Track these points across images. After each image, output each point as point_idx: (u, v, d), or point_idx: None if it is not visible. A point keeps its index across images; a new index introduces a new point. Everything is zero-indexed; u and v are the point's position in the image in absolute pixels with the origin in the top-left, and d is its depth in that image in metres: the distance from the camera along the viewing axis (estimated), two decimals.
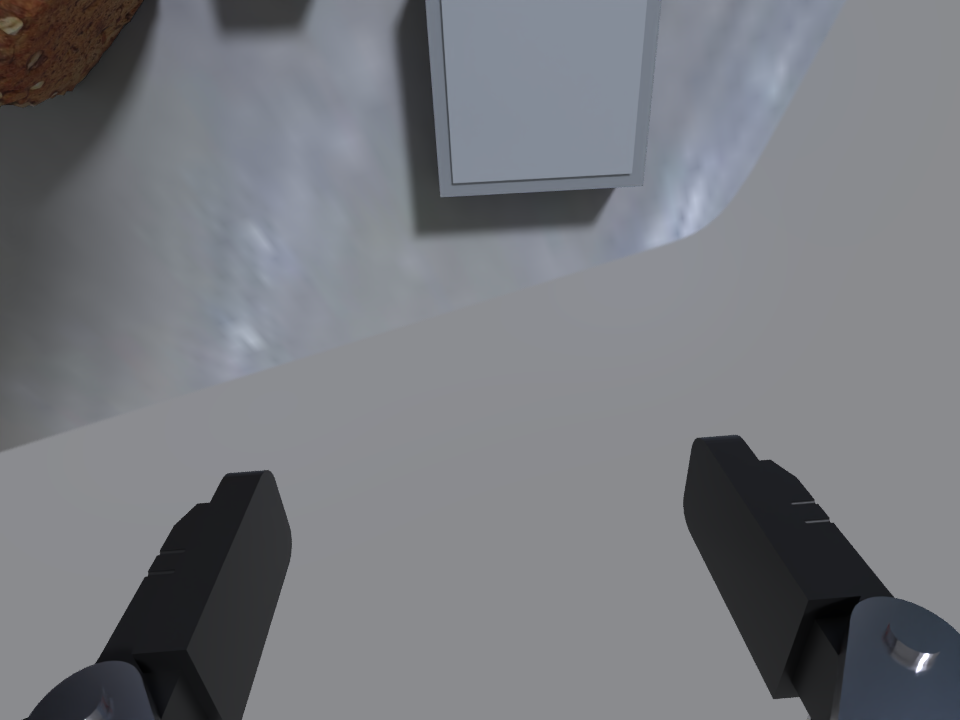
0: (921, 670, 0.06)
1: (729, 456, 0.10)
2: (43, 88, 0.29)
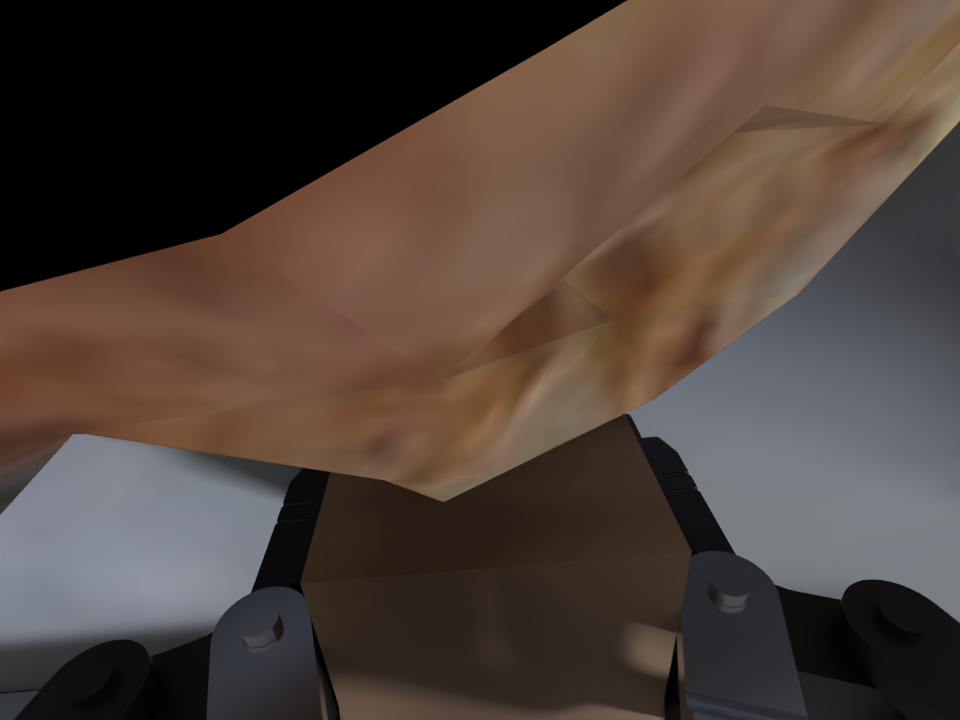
0: (728, 611, 0.07)
1: None
2: None
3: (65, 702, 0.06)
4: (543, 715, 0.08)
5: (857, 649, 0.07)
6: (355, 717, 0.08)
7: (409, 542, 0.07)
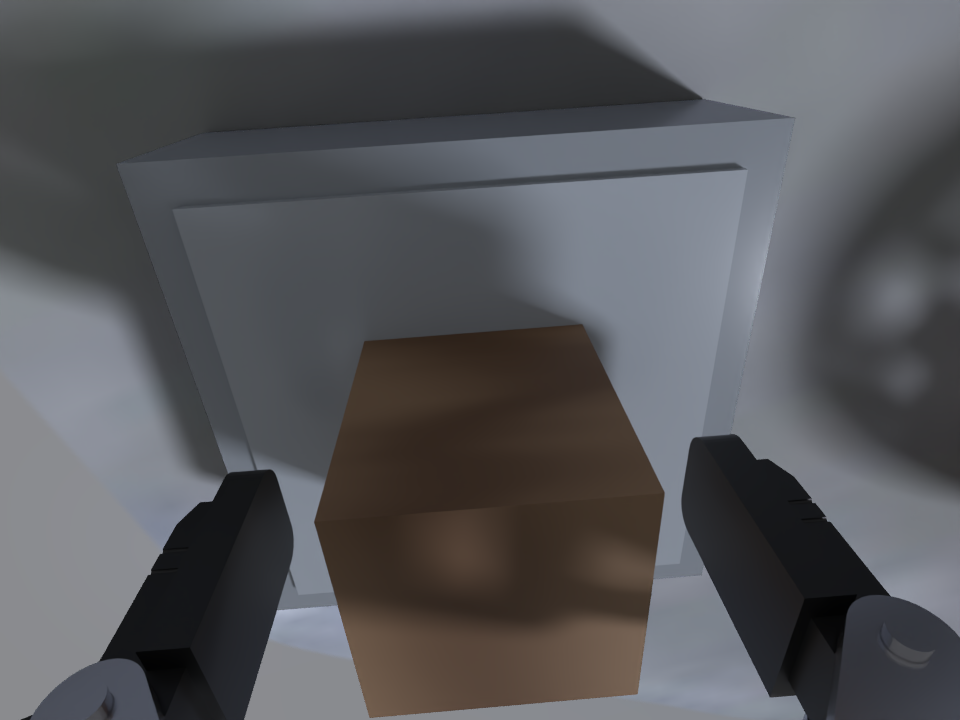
0: (917, 668, 0.06)
1: (726, 455, 0.10)
2: None
3: None
4: (534, 652, 0.09)
5: None
6: (363, 653, 0.08)
7: (411, 487, 0.08)
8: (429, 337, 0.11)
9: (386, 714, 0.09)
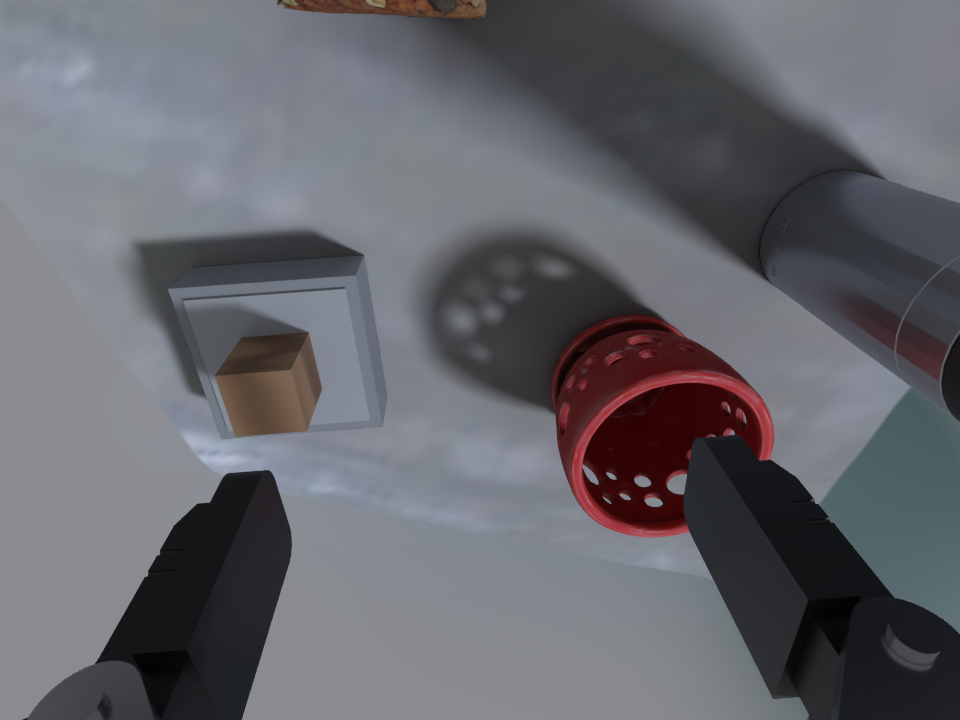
0: (921, 670, 0.06)
1: (729, 456, 0.10)
2: (314, 11, 0.28)
3: None
4: (274, 415, 0.35)
5: None
6: (230, 414, 0.34)
7: (237, 370, 0.33)
8: (261, 336, 0.37)
9: (239, 436, 0.35)
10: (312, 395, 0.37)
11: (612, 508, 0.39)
